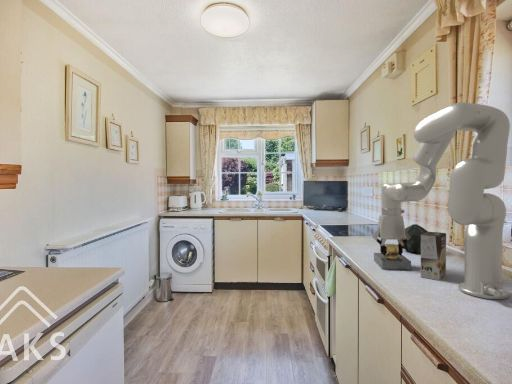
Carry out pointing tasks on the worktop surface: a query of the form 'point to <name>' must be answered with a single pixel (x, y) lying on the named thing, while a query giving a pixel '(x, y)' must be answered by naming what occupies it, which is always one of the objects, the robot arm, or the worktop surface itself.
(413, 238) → the squash
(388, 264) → the block
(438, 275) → the coffee box
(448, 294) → the worktop surface
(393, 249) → the end cover
